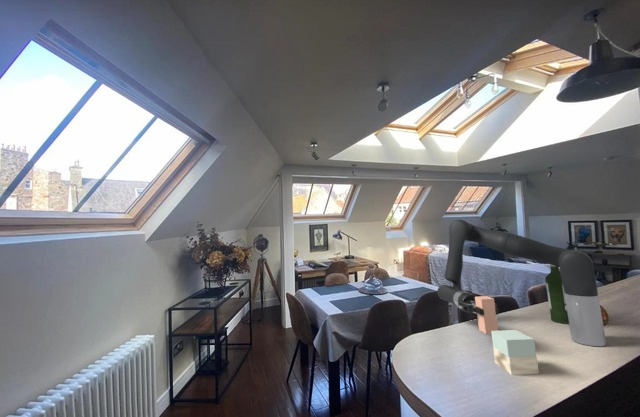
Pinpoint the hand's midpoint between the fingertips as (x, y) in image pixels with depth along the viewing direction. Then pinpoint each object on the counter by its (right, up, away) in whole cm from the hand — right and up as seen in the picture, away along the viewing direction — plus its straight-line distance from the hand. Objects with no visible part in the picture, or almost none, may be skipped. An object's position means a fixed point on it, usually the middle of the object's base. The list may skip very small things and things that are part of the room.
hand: (490, 312), depth 96 cm
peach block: (+1, -8, +2) cm, 8 cm away
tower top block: (0, -8, -12) cm, 14 cm away
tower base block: (0, -13, -12) cm, 18 cm away
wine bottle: (+49, -14, +25) cm, 57 cm away
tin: (+61, -14, +24) cm, 67 cm away
